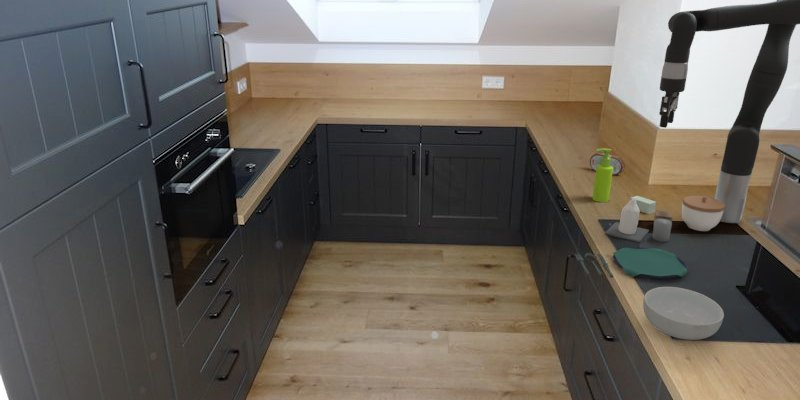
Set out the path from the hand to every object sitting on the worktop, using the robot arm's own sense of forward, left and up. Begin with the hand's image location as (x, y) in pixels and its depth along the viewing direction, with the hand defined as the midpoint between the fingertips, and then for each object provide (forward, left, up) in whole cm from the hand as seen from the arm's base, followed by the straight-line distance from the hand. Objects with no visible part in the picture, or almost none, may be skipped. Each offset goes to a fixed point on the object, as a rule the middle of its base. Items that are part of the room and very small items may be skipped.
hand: (666, 124), depth 192 cm
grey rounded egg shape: (-8, +20, -33) cm, 39 cm away
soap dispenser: (+20, -4, -33) cm, 39 cm away
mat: (+2, +22, -33) cm, 39 cm away
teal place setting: (-6, +45, -34) cm, 56 cm away
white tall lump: (+2, +21, -32) cm, 39 cm away
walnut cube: (-6, +10, -33) cm, 35 cm away
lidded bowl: (-16, +2, -33) cm, 37 cm away
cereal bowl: (-25, +73, -33) cm, 83 cm away
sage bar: (+4, -3, -33) cm, 33 cm away
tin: (+29, -39, -33) cm, 59 cm away
